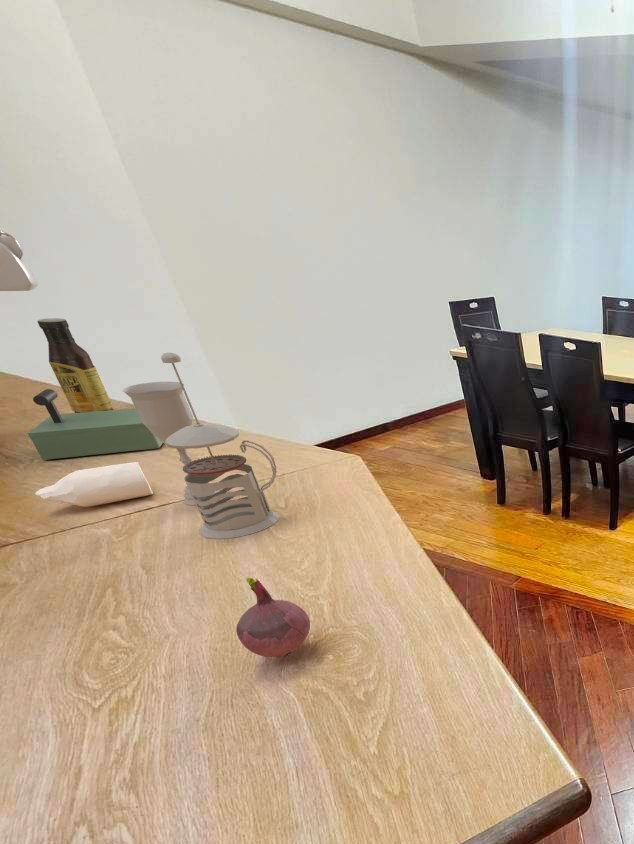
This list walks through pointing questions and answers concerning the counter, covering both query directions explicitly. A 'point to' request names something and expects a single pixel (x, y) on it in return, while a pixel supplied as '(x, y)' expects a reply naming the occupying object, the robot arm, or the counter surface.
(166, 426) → the chalice
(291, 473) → the counter surface
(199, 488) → the french press
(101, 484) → the white bottle
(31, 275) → the robot arm
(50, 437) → the green wedge with knob
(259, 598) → the vegetable
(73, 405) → the sauce bottle
